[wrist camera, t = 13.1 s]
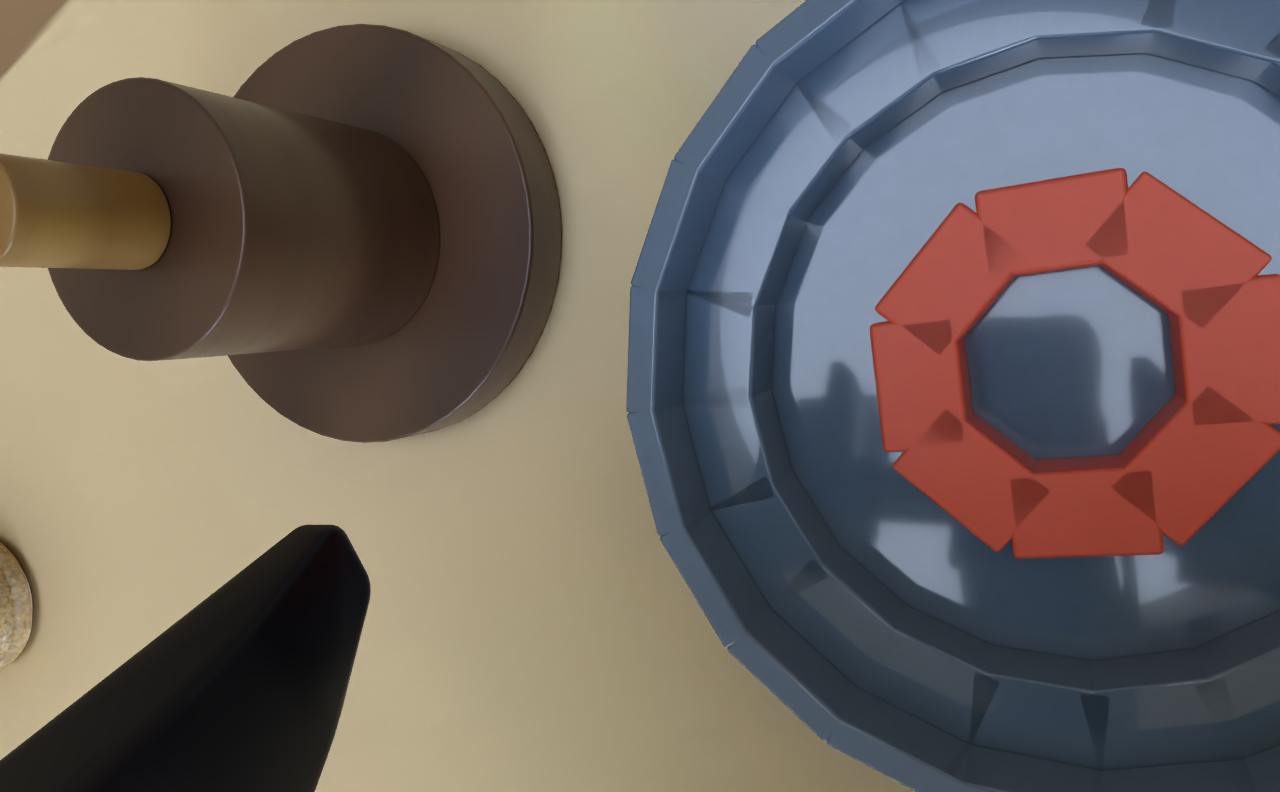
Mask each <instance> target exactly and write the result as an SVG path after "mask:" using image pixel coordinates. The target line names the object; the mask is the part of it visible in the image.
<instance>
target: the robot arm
mask: <svg viewBox="0 0 1280 792" xmlns="http://www.w3.org/2000/svg"><path fill="white" fill-rule="evenodd" d="M369 600H370V581H369V577H368V575H367V572H366V570H365V569H364V567H363V565H362V563H361V561H360V559H359V557H358V555H357V554H356V552H355V550H354V548H353V546H352V544H351V542H350V540H349V538H348V537H347V535H346V533H345V532H344V531H343V530H342V529H341V528H339V527H338V526H335V525H304V526H300V527H298V528H296V529H295V530H293V531H292V532H291V533H289V534H288V535H287V536H286V537H284V538H283V539H282V540H280V541H279V542H278V543H277V544H275V545H274V546H273V547H272V548H270V549H269V550H268V551H266V552H265V553H264V554H263V555H261V556H260V557H259V558H258V559H256V560H255V561H254V562H252V563H251V564H250V565H249V566H247V567H246V568H245V569H244V570H242V571H241V572H240V573H238V574H237V575H236V576H235V577H233V578H232V579H231V580H230V581H228V582H227V583H226V584H224V585H223V586H222V587H221V588H219V589H218V590H217V591H216V592H214V593H213V594H212V595H210V596H209V597H208V598H207V599H205V600H204V601H203V602H202V603H200V604H199V605H198V606H196V607H195V608H194V609H193V610H191V611H190V612H189V613H188V614H186V615H185V616H184V617H182V618H181V619H180V620H179V621H177V622H176V623H175V624H174V625H172V626H171V627H170V628H168V629H167V630H166V631H165V632H163V633H162V634H161V635H160V636H158V637H157V638H156V639H154V640H153V641H152V642H151V643H149V644H148V645H147V646H146V647H144V648H143V649H142V650H140V651H139V652H138V653H137V654H135V655H134V656H133V657H132V658H130V659H129V660H128V661H126V662H125V663H124V664H123V665H121V666H120V667H119V668H118V669H116V670H115V671H114V672H112V673H111V674H110V675H109V676H107V677H106V678H105V679H104V680H102V681H101V682H100V683H98V684H97V685H96V686H95V687H93V688H92V689H91V690H90V691H88V692H87V693H86V694H84V695H83V696H82V697H81V698H79V699H78V700H77V701H76V702H74V703H73V704H72V705H70V706H69V707H68V708H67V709H65V710H64V711H63V712H61V713H60V714H59V715H58V716H56V717H55V718H54V719H53V720H51V721H50V722H49V723H47V724H46V725H45V726H44V727H42V728H41V729H40V730H39V731H37V732H36V733H35V734H33V735H32V736H31V737H30V738H28V739H27V740H26V741H25V742H23V743H22V744H21V745H19V746H18V747H17V748H16V749H14V750H13V751H12V752H11V753H9V754H8V755H7V756H5V757H4V758H3V759H2V760H0V792H314V791H315V789H316V786H317V783H318V781H319V778H320V775H321V772H322V770H323V767H324V764H325V762H326V759H327V756H328V753H329V750H330V747H331V744H332V741H333V738H334V735H335V732H336V729H337V725H338V722H339V718H340V715H341V711H342V707H343V703H344V699H345V695H346V691H347V687H348V683H349V679H350V676H351V672H352V668H353V664H354V660H355V656H356V652H357V648H358V644H359V640H360V636H361V632H362V628H363V624H364V620H365V616H366V613H367V609H368V605H369Z"/></svg>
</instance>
